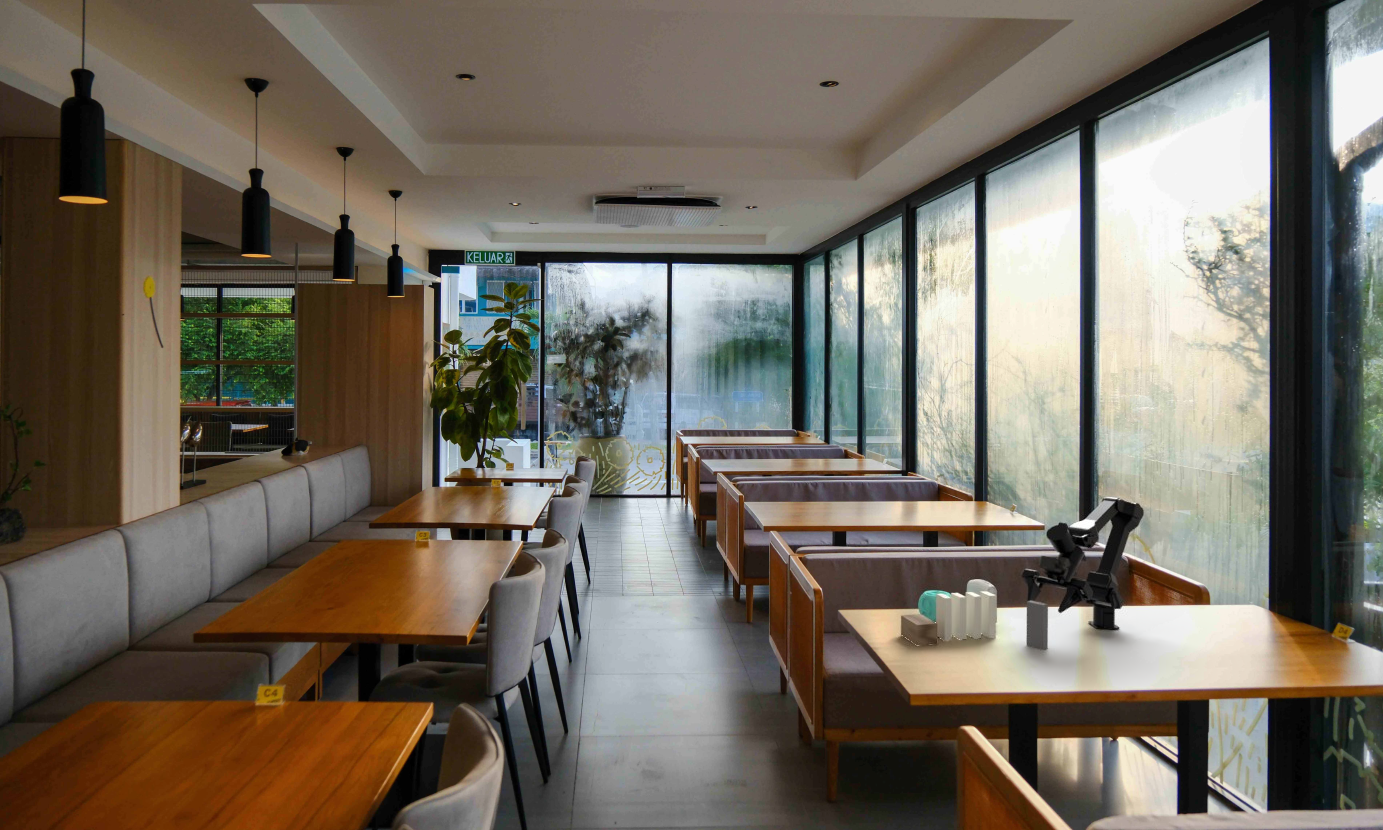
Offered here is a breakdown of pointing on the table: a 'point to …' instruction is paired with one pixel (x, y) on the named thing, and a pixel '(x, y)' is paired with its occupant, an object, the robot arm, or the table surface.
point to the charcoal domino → (1037, 625)
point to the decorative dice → (929, 604)
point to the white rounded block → (981, 588)
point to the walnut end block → (919, 629)
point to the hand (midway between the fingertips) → (1043, 608)
